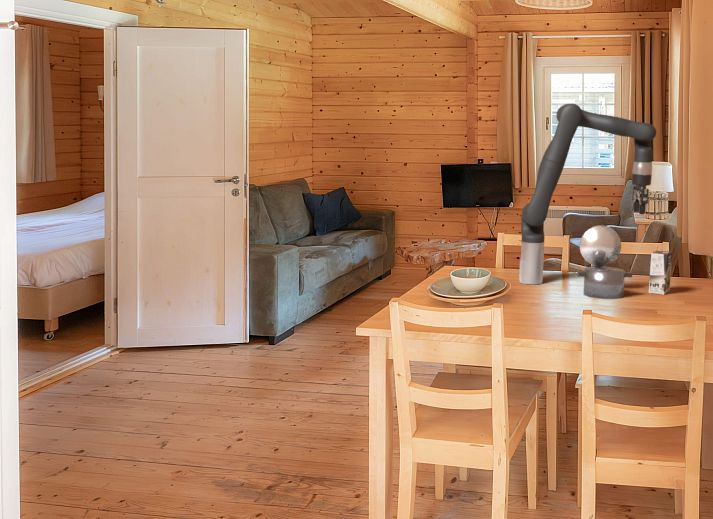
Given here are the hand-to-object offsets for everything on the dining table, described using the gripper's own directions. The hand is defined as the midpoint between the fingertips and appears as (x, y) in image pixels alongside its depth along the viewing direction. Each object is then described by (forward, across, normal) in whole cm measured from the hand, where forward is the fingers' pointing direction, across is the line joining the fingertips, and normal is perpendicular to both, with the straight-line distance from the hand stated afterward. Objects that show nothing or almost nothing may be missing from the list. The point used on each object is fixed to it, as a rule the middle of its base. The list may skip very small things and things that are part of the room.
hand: (638, 213), depth 373 cm
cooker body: (+30, +24, -18) cm, 42 cm away
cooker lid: (+12, +16, -18) cm, 27 cm away
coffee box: (+30, +16, +6) cm, 34 cm away
